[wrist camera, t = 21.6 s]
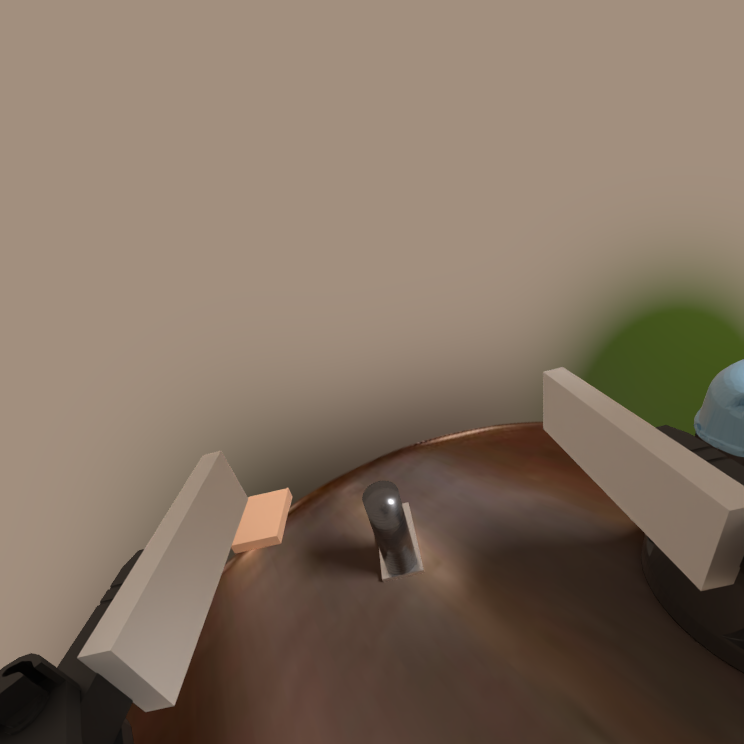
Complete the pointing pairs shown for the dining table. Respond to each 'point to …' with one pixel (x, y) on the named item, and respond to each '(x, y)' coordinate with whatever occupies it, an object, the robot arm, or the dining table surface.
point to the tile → (262, 521)
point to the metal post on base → (392, 531)
